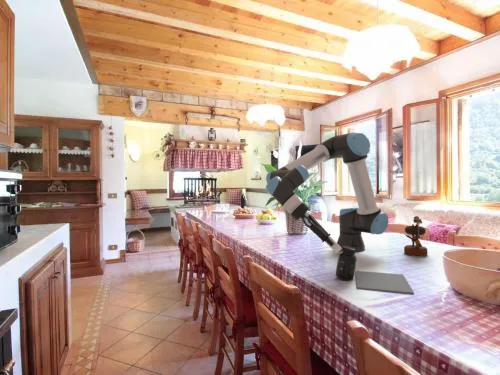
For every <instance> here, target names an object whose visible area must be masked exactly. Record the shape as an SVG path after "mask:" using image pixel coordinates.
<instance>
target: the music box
mask: <svg viewBox="0 0 500 375" xmlns="http://www.w3.org/2000/svg"><path fill="white" fill-rule="evenodd" d="M419 224H423V221H422V219H421V218H420V216H418V215H415V216H414V217H413V223H412V224H411V225H406V227H405V228H404V232H405V233H406V234H405V236H406V237H407V238H408V239H410V240H411V243H412V244H407V245H404V247H403V253H404V254H405V255H406V256H407V255H408V256H411V257H421V258H422V257H427V256H428V248H427V247H426V246H423V244H422V243H421V241H420V239H421V236H423V235H425V234H426V228H425V227H424V226H420V225H419ZM410 235H411V236H410Z"/></svg>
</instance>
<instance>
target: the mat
mask: <svg viewBox="0 0 500 375" xmlns="http://www.w3.org/2000/svg"><path fill="white" fill-rule="evenodd" d="M354 275H355V280H356V281H355V282H356V289H357V290H367V291H377V292H378V291H379V292H389V293H396V294H397V293H398V294H399V293H400V294H410V295H415V292H414V290H413V288H412V287H411V285H410V284H409V281H408V280H407V279H406V277H405V275H404V274H402V273H391V272H378V271H365V270H363V271H361V270H355V272H354Z"/></svg>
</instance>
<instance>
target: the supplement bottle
mask: <svg viewBox="0 0 500 375" xmlns="http://www.w3.org/2000/svg"><path fill="white" fill-rule="evenodd" d="M355 250H356V249H355V248H353V247H350V246H343V248H342V250H341V252H339V254H338V256H337V263H336V269H335V276H336V277H337V278H338V279H340V280H343V281H353V279H354V278H355V271H356V265H357V260H358V258H357V256H356V255H355V254H356V251H355Z"/></svg>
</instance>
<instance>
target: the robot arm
mask: <svg viewBox="0 0 500 375" xmlns="http://www.w3.org/2000/svg"><path fill="white" fill-rule="evenodd" d="M370 142H371V141H370V140H369V137H368V136H367V135H366V134H364V133H363V132H360V131H356V132H353V131H352V132H347V133H345V134H344V133H343V134H339V135H334V136H332V137H330V138H328V139H326V140H324V141H323V142H321V143H319V144H316V146H315V147H314V149H312V150H310V151H309V152H307V153H305V154H304V155H301V156H300V157H297V158H296V159H295V160H293V161H291V162H288V163H287V164H285V165H284V166H282V167H280V168H278V169H276V170H271V171H269V172H268V173H267V174H266V177H265V180H266V183H267V184H266V185H265V189H266V191H267V192H268V194H270V196H272V198H274V199H275V200H276V202H278V204H280V205H281V206H282V207H283V210H284V211H287V212H288V214H290V216H291V217H292V218H293V219H294V220H295V221H298V220H300V219H301V220H302V223H303V224H304V225H305V226H306V227H307V228H309V230H310V231H311V232H312V233H314V235H316V236H317V237H318V238H319V239H320V240H321V242H322V243H325V244H326V245H327V246H328V247H330V248H331V250H332V251H333V252H334V253H335V254H338V253H340V251H342V248H343V246H350V247H353V248H355V249H356V250H355V252H362V251H365V250H366V246H365V245H366V244H365V241H364V240H363V237H362V233H365V234H371V235H382V234H384V232H386V230H387V228H388V225H389V216H388V214H387V213H386V212H384V211H382V209H381V206H380V205H379V204H377V202H376V198H375V194H374V191H373V190H374V189H373V186H372V182H371V179H370V174H369V171H368V167H367V163H366V162H367V161H366V160H367V158H368V154H369V153H370V150H371V143H370ZM332 159H333V160H334V159H342V162H343V164H345V165H347V168H348V172H349V175H350V179H351V183H352V188H353V191H354V195H355V198H356V202H357V206H358V207H348V208H341V209H340V210H339V216H338V219H339V236H338V238H337V241H336V240H335V239H333V238H332V237H331V232H330V233H329V232H328V231H327V230H326V229H325V228H324V227H323V226H322V225H321V224H320V223H319V221H317V219H316V218H315V216H313V215H312V214H311V213H310V214H309V213H308V211H309V210H310V207H309V205H308V204H307V203H306V202H304V201H303V199H302V198H300V196H298V194H297V193H296V192H294V191H296V190H297V189H298V188H299V187H300V186H302V185H303V184H304V183H305V182H306V181H307V180H308V179H309V177H310V173H309V170H311V169H312V168H314V167H316V166H317V165H319V164H320V163H322V162H323V163H326V162H328V161H330V160H332Z"/></svg>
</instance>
